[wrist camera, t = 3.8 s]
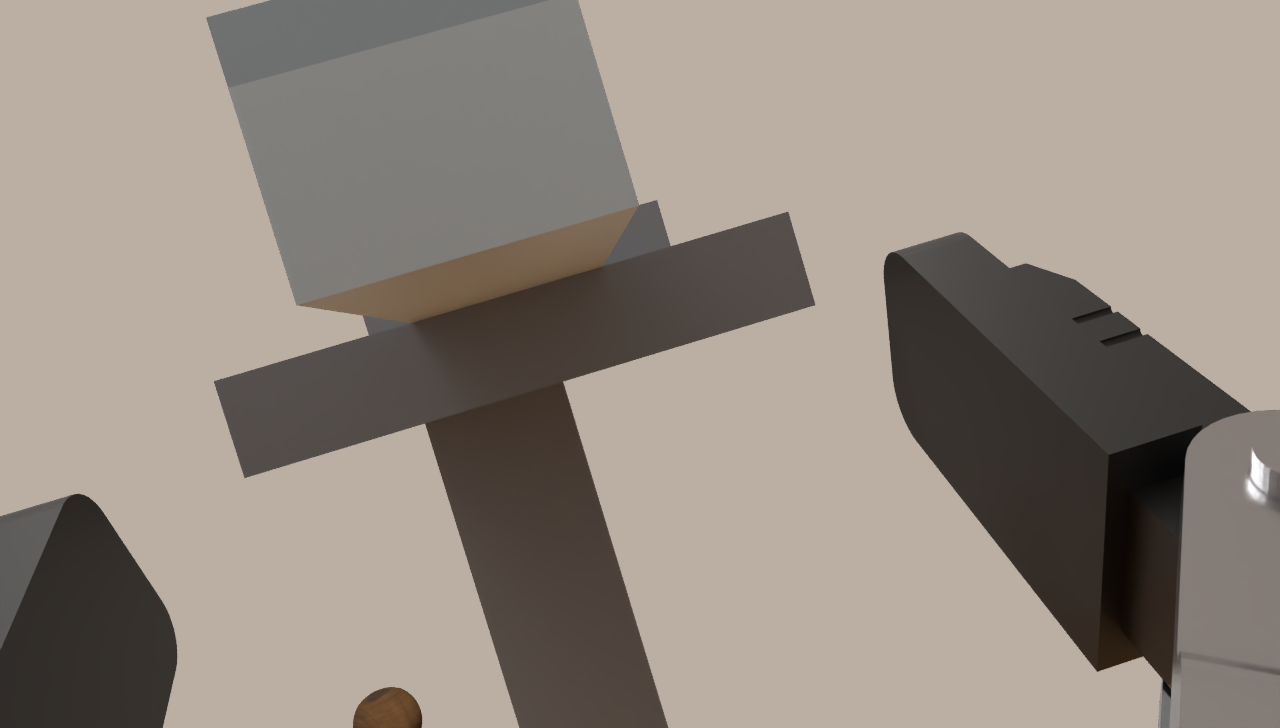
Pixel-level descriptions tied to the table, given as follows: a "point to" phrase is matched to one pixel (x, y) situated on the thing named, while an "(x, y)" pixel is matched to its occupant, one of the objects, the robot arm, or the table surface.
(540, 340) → the grey gallows post
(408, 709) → the mortar and pestle
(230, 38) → the grey rectangular box
